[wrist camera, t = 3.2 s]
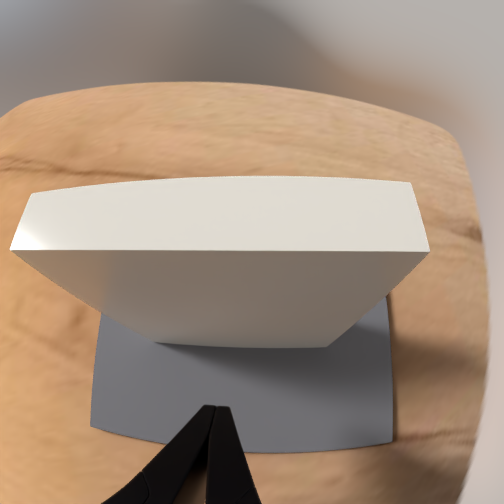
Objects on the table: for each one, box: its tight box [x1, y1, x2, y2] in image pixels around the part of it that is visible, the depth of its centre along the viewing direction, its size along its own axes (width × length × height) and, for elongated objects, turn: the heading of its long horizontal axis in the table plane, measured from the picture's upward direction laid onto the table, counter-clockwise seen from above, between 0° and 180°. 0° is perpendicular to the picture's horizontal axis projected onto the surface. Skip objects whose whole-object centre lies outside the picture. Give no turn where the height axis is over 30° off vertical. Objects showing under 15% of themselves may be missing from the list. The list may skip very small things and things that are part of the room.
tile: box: [10, 176, 430, 348], centre depth 11 cm, size 2×10×12 cm, turn 88°
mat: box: [90, 296, 393, 453], centre depth 17 cm, size 16×18×1 cm
